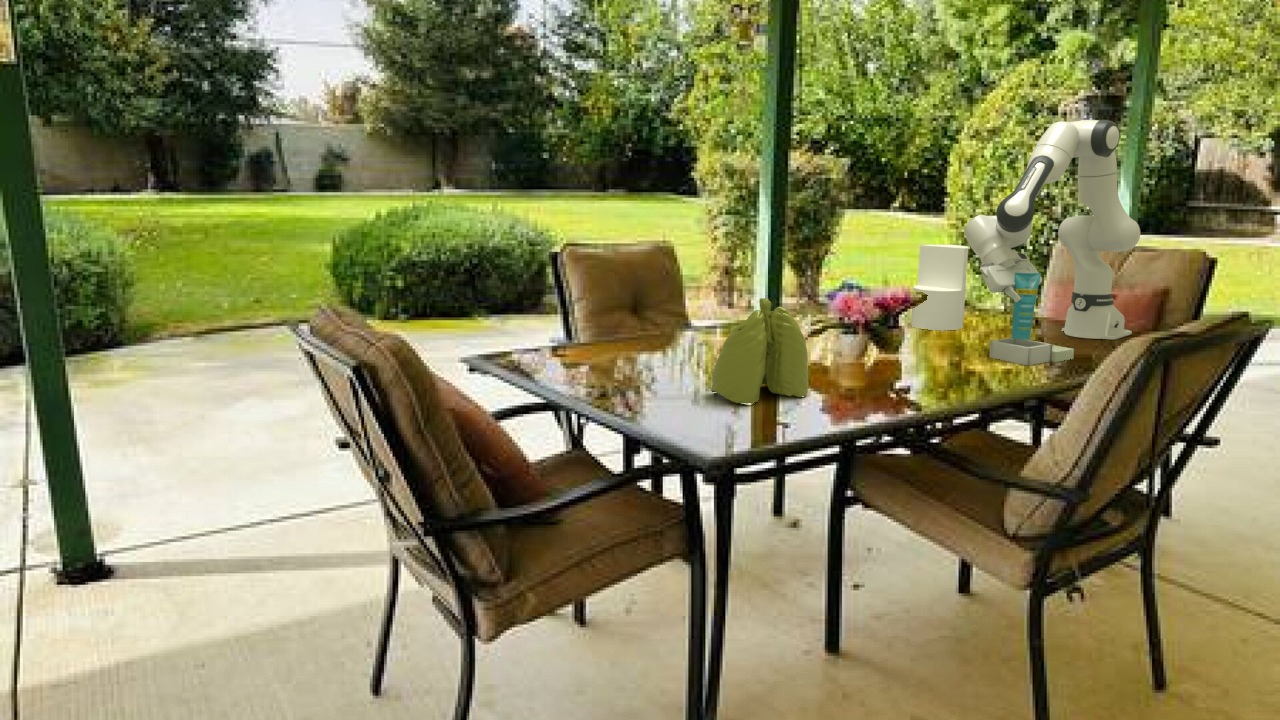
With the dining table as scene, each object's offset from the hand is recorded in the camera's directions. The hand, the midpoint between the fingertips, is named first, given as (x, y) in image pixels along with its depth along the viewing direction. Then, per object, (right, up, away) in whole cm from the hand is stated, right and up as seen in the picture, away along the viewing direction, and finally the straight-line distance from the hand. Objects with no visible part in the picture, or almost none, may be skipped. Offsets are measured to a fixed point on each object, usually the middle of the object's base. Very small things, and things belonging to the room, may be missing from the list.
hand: (1027, 300), depth 260 cm
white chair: (-7, -6, +57) cm, 58 cm away
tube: (-1, -11, +3) cm, 12 cm away
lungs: (-82, -26, -34) cm, 92 cm away
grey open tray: (+3, -17, +6) cm, 18 cm away
